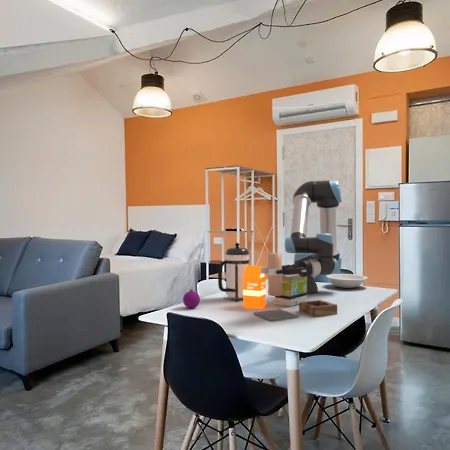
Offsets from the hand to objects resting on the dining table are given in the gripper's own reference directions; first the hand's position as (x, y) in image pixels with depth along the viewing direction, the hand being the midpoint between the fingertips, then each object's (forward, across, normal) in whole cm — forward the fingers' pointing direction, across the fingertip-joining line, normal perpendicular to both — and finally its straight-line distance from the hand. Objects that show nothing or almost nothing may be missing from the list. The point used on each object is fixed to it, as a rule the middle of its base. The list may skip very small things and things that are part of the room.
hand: (264, 271), depth 171 cm
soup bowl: (-82, +38, -20) cm, 92 cm away
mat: (-6, 0, -20) cm, 21 cm away
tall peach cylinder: (-5, 0, -10) cm, 12 cm away
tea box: (-27, +18, -20) cm, 38 cm away
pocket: (-26, -4, -20) cm, 33 cm away
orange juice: (-7, +20, -20) cm, 29 cm away
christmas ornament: (+21, +32, -20) cm, 44 cm away
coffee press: (-7, +40, -20) cm, 45 cm away
